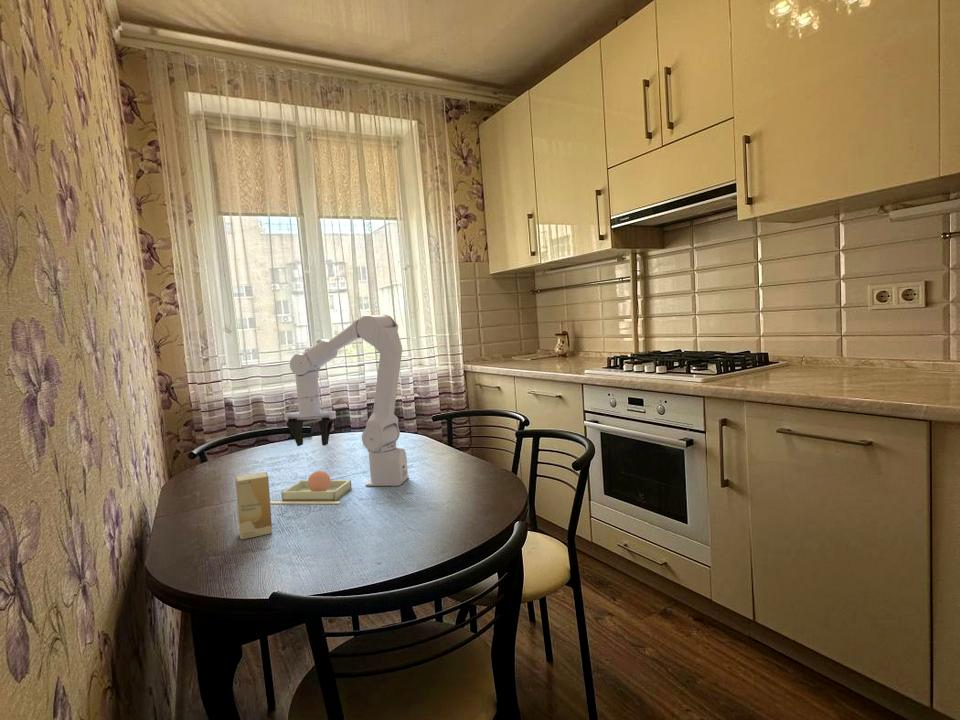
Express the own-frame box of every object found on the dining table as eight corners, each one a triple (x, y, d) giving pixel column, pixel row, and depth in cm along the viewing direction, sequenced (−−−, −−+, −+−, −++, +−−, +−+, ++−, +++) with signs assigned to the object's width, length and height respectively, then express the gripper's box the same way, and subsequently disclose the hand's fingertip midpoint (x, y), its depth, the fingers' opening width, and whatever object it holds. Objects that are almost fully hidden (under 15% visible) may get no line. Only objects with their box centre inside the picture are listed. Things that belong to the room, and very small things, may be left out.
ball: (332, 494, 139) (337, 473, 138) (315, 498, 134) (320, 477, 133) (318, 486, 141) (322, 466, 141) (301, 490, 137) (305, 469, 136)
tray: (351, 488, 141) (350, 480, 141) (335, 500, 132) (334, 492, 132) (301, 488, 144) (301, 480, 144) (282, 500, 135) (281, 492, 134)
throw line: (340, 502, 130) (340, 501, 130) (338, 504, 129) (338, 502, 129) (272, 502, 134) (271, 501, 134) (269, 504, 133) (269, 502, 133)
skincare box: (240, 540, 111) (234, 481, 110) (239, 533, 114) (233, 476, 113) (274, 533, 113) (268, 475, 113) (271, 526, 117) (266, 470, 116)
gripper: (339, 393, 154) (343, 441, 155) (291, 395, 157) (296, 442, 158) (327, 397, 147) (331, 447, 148) (278, 399, 150) (283, 448, 151)
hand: (312, 445), depth 153 cm, fingers open, 7 cm apart
